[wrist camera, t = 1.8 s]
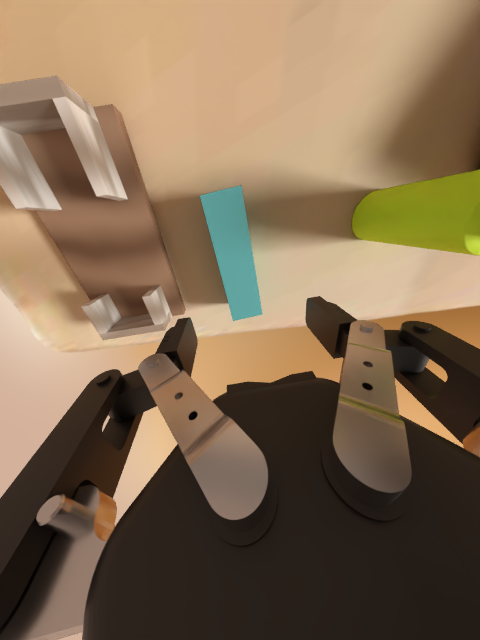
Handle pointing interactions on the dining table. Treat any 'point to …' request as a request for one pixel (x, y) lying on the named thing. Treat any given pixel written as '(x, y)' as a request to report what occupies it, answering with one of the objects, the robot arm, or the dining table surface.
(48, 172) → the grey walled piece
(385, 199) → the soap dispenser
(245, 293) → the teal block
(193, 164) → the dining table surface
